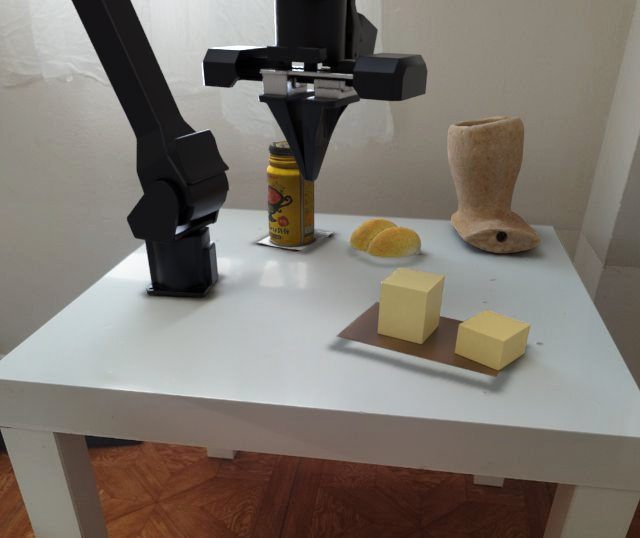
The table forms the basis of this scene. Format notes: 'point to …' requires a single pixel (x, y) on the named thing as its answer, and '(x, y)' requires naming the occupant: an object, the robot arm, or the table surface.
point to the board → (432, 348)
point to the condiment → (289, 202)
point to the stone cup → (488, 183)
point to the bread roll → (385, 239)
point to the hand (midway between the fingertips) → (310, 180)
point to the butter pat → (492, 339)
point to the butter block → (410, 304)
